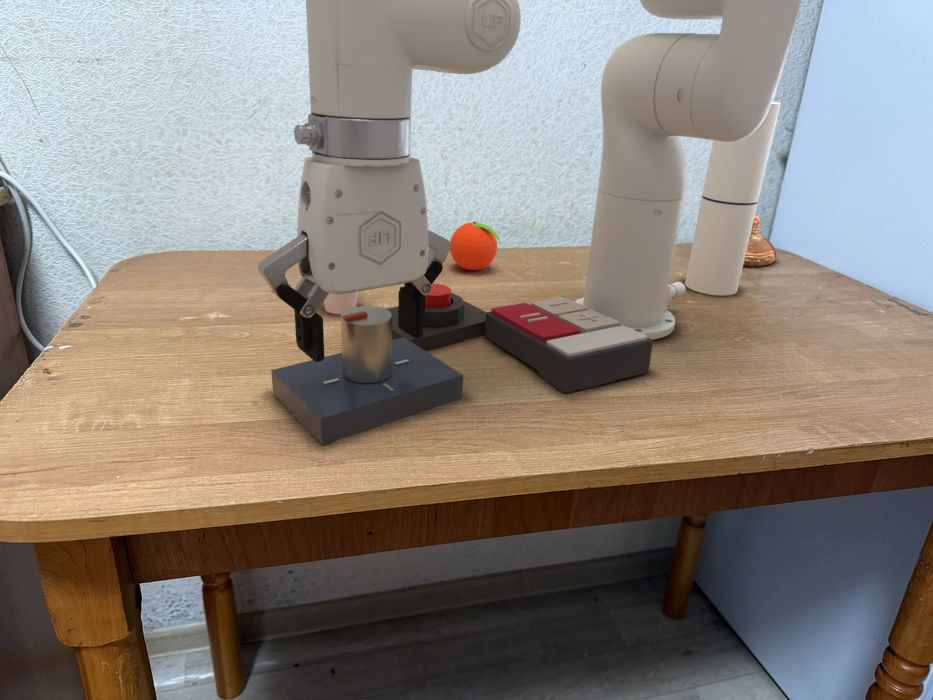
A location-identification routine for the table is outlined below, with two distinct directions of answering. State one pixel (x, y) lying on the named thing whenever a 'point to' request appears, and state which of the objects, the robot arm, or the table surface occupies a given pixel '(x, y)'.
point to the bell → (758, 248)
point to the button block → (445, 324)
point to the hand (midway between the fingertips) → (363, 343)
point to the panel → (364, 392)
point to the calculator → (569, 343)
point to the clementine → (474, 246)
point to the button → (438, 297)
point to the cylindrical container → (729, 209)
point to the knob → (366, 344)
